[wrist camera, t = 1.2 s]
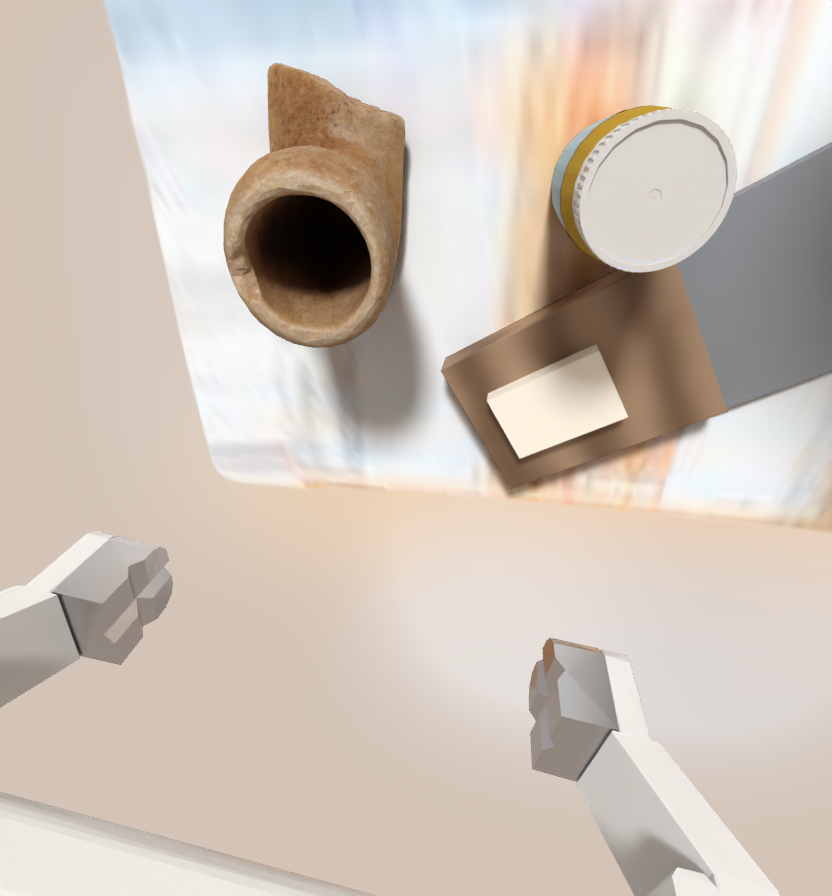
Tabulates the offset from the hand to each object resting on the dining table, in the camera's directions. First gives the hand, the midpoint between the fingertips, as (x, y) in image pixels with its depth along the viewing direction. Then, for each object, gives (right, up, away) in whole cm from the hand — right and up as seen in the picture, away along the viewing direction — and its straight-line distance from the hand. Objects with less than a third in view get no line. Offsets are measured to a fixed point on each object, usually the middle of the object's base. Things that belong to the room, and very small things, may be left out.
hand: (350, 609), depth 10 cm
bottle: (+14, +22, +23) cm, 35 cm away
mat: (+29, +15, +23) cm, 40 cm away
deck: (+15, +9, +30) cm, 35 cm away
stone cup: (-3, +22, +26) cm, 35 cm away
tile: (+13, +7, +28) cm, 32 cm away
